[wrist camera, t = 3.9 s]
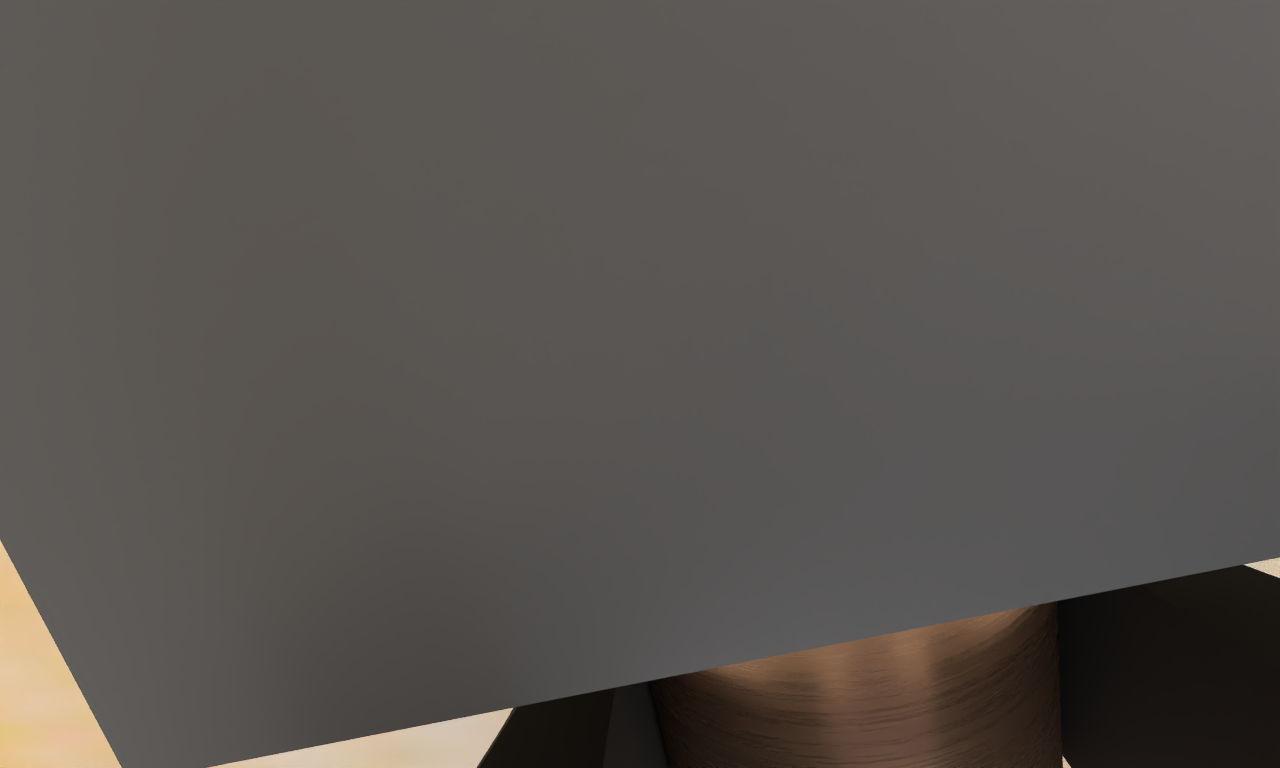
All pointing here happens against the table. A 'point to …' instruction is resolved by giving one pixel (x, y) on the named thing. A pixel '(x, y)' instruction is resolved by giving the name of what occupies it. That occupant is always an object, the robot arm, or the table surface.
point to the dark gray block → (612, 337)
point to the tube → (879, 701)
